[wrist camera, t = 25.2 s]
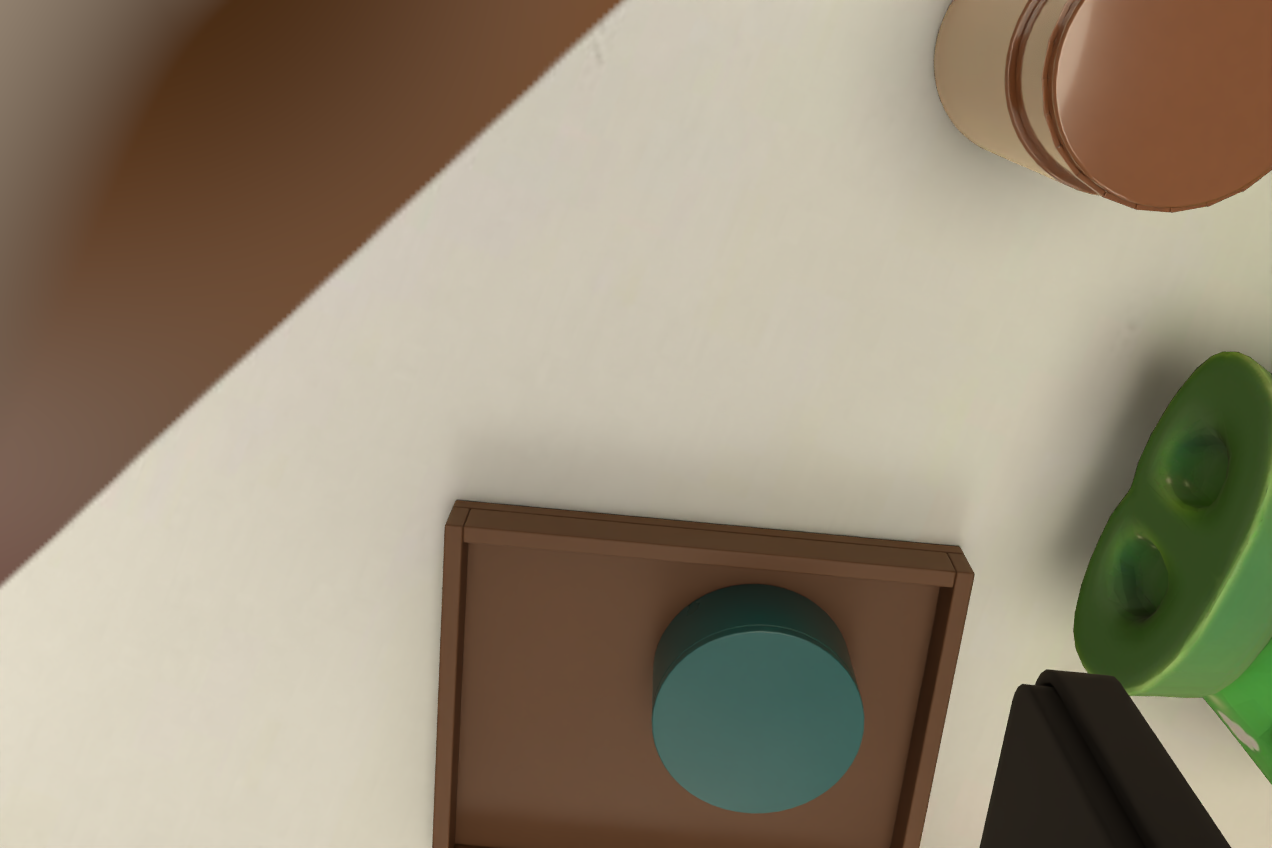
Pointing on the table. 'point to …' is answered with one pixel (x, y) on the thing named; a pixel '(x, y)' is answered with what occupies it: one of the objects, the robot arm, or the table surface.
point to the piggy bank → (1194, 558)
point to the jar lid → (755, 700)
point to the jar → (1116, 93)
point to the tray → (623, 677)
